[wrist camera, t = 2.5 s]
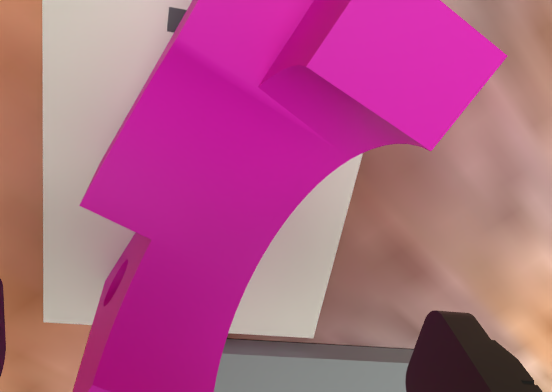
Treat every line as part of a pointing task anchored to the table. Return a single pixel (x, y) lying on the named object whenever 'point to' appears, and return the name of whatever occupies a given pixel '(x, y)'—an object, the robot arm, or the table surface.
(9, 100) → the table surface
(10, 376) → the table surface
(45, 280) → the tile
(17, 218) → the table surface
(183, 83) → the magenta cradle holder
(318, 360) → the slate board
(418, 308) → the table surface
